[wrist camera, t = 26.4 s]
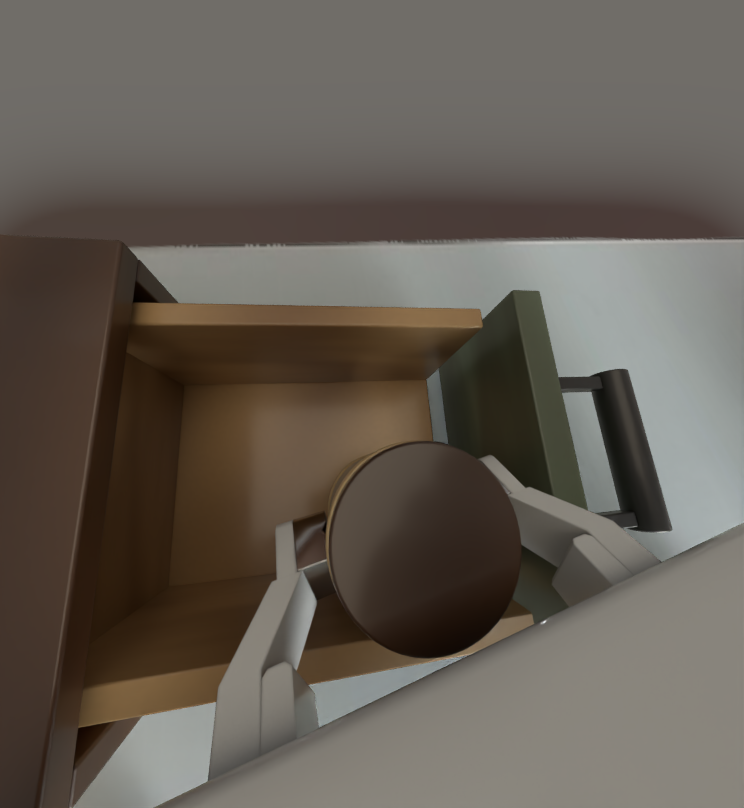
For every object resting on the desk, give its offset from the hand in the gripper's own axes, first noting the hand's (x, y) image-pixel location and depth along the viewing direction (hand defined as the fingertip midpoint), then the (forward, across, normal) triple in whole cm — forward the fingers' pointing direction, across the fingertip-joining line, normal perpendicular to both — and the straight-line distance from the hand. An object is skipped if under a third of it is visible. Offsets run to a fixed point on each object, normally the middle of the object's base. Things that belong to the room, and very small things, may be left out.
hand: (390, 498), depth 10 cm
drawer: (+5, -1, +4) cm, 7 cm away
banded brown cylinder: (+3, 0, +4) cm, 4 cm away
